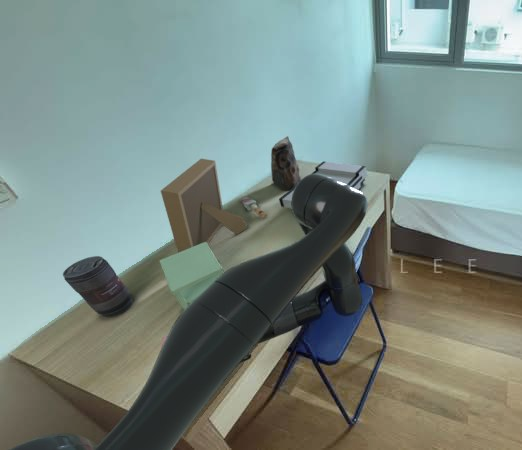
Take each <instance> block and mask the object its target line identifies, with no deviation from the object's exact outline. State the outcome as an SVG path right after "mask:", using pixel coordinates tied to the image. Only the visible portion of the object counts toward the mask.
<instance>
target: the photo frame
mask: <svg viewBox="0 0 522 450" xmlns="http://www.w3.org/2000/svg"><path fill="white" fill-rule="evenodd" d="M219 183H220V182H219V176H218V170H217V163H216V160H212V159H207V158H200V159H199V160H197V161H196V162H195V163H193V164H192V165H191V166H190V167H188V168H186V170H185V171H183V172H182V173H181V174H179V175H178V176H177V177H175V178H174V179H173V180H172V181H171V182H170V183H168V184H167V185H166V186H165V187H163V188H162V189H161V190H160V194H161V197H162V201H163V205H164V208H165V212H166V215H167V219H168V222H169V226H170V230H171V233H172V237H173V240H174V244H175V247H176V251H177V253H179V252H181V251H184V250H186V249H189V248H191V247H194V246H196V245H199V244H201V243H204V242H206V243H207V245H209V243H210V242H211V240H212V238H214V236H215V235H216V234H217V232H218V231H219V230H220V228H221V227H222V226H224V227H225V228H226V229H228V230H230V231H231V232H233V233H234V234H235V235H238V234H240V233H242V232H244V231H245V230H246V229H248V225H247V224H246V222H245V220H244V219H243V217H242V216H239V215H236V214H233V213H231V212H228V211H226V210H224V209H223V201H222V196H221V188H220V184H219Z"/></svg>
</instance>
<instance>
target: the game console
mask: <svg viewBox="0 0 522 450" xmlns="http://www.w3.org/2000/svg"><path fill="white" fill-rule="evenodd" d="M314 169H315V170H314V171H313V172H311V174H321V175H325V176H328V177H330V178H333V179H335V180H337V181H340V182H342V183H345V184H347V185H349V186H351V187H354V188H356V189H357V190H359V191H361V190H362V188H363V187H364V185H365V184H364V182H365V181H366V178H367V177H368V174H367V166H366V165H358V164H348V163H340V162H333V161H322V162H320V163H318V165H317V166H315V167H314ZM296 186H297V185H296ZM296 186H295V187H296ZM295 187H294V188H292V189H291V190H289V191H287V192H286V193H284V194H283V195H282V196H280V197H279V198H278V201H279V204H280V207H282V208H288V209H292V207H291V200H292V195H293V191H294V189H295Z"/></svg>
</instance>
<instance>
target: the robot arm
mask: <svg viewBox="0 0 522 450" xmlns="http://www.w3.org/2000/svg"><path fill="white" fill-rule="evenodd" d="M368 205H369V204H368V198H367V197H366V195H365V194H364V192H362V191H361V190H357V189H356V188H354V187H351V186H349V185H347V184H345V183H342V182H340V181H337V180H335V179H333V178H330V177H328V176H325V175H321V174H312V173H310V174H307V175H305V176H304V177H302V178H300V182H299V183H298V184H297V186H296V187H295V189H294V191H293V195H292V200H291V207H292V208H291V212H292V215H293V217H294V219H295V221H296V223H297V224H298V226H299V227H300V229H301V231H302V233H303V234H304V236H302V237H301V238H300V239H297V240H296V241H295V242H293V243H291V244H289V245H287V246H285V247H282V248H279V249H277V250H274V251H271V252H268V253H265V254H263V255H260V256H257V257H254V258H251V259H249V260H246V261H243V262H241V263H239V264H236V265H235V266H233V267H231V268H229V269H227V270H226V271H223V274H222V275H221V276H219V277H218V278H217V279H216V280H215V281H214V282H213V283H211V284H210V285H209V286H208V287H207V288H206V289H205V290H204V291H203V292H202V293H201V294H200V295H199V296H198V297H197V298H195V299H194V300H193V301H192V302H190V303H188V306H187V307H186V309H185V310H184V309H183V310H182V311H181V313H180V314H179V315H178V317H177V318H176V320H175V321H174V323H173V325H172V326H171V328H170V330H169V332H168V334H167V335H166V336H167V338H166V340H165V342H164V344H163V346H162V345H161V346H162V349H161V348H160V351H159V353H158V356H157V358H156V360H155V362H154V364H153V367H152V369H151V372H150V374H149V376H148V377H147V380H146V382H145V384H144V386H143V388H142V389H141V391H140V393H138V396H137V398H136V399H135V400H134V402H133V403H132V405H131V406H130V407H129V409H128V410H127V412H125V414H123V416H122V418H121V419H120V420H119V421H118V422H117V423H116V425H115V426H114V427H113V428H111V430H110V431H109V432H108V433H107V435H106V436H105V437H104V438H103V439H102V440H101V441H100V442H99V443H98V444H97V443H95V442H93V440H91V439H89V438H87V437H85V436H83V435H82V436H81V435H79V434H74V433H53V434H49V435H42V436H39V437H36V438H32V439H30V440H27V441H24V442H21V443H20V444H17V445H15V446H13V447H11V448H9V449H8V450H174V448H175V446H176V444H178V442H179V441H180V439H181V438H182V437H183V436H184V434H185V432H186V431H187V430H188V428H190V426H191V425H192V424H193V422H194V421H195V419H196V418H197V417H198V416H199V415H200V413H201V412H202V411H203V409H204V408H205V407H206V405H207V404H208V403H209V402H210V400H211V399H212V398H213V397H214V395H215V394H216V393H217V392H218V390H219V389H220V388H221V387H222V385H223V384H224V383H225V382H226V381H227V379H228V378H229V377H230V376H231V375H232V374H233V372H234V371H235V370H236V369H237V367H238V366H239V365H240V364H242V363H244V362H246V361H248V360H250V359H251V358H252V354H251V351H252V350H254V348H255V347H256V346H257V344H261V343H262V344H263V343H264V342H266V341H270V340H272V339H274V338H277V337H279V336H282V335H285V334H288V333H289V332H292V331H294V330H296V329H298V328H300V327H302V326H305V325H308V324H311V323H312V322H315V321H318V320H319V319H321V318H322V317H323V312H324V311H323V302H324V301H325V300H326V299H327V298H329V300H330V302H331V305H332V308H333V311H334V312H335V313H336V314H337V315H339V316H342V317H350V316H353V315H355V314H356V313H357V312H358V311H359V310H360V309H361V307H362V305H363V296H362V292H361V289H360V286H359V283H358V279H357V268H356V261H355V257H354V255H353V253H352V251H351V250H350V248H349V246H348V245H347V244H346V243H347V241H349V240H350V239H351V237H352V236H353V235H354V234H355V233H356V231H357V230H358V229H359V228H360V226H361V224H362V222H363V220H364V219H365V216H366V214H367V211H368ZM320 269H321V270H322V271H321V272H322V275H323V278H324V280H323V281H322V282H321V283H319V284H317V285H316V286H314V287H313V288H311V289H309V290H307V291H305V292H302V293H300V294H299V292H300V291H301V290H302V289H303V288H304V287H305V286H306V284H308V282H309V281H310V280H311V279H312V278H313V276H315V274H316V273H317V272H318V271H319V270H320Z"/></svg>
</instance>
